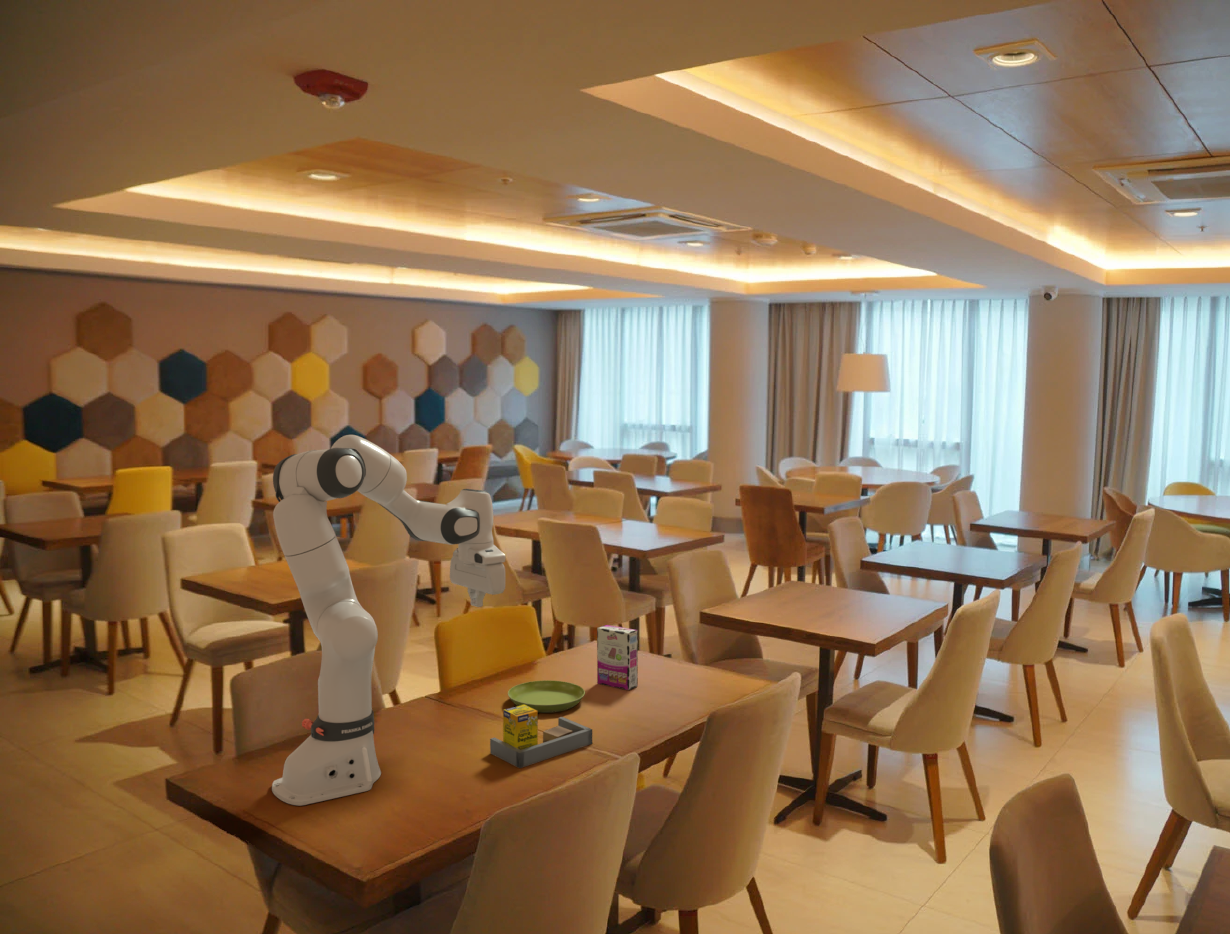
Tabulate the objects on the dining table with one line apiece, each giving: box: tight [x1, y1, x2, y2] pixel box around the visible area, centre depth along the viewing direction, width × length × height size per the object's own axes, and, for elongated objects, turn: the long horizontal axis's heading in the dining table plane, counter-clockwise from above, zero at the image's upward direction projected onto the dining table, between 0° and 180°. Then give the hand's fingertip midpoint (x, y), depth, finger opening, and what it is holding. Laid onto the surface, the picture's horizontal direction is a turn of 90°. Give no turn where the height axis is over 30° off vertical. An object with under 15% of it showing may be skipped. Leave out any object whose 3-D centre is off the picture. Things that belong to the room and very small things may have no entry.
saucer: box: [507, 679, 586, 714], centre depth 252 cm, size 21×21×3 cm
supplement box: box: [502, 705, 539, 750], centre depth 215 cm, size 6×6×11 cm
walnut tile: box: [542, 725, 573, 743], centre depth 224 cm, size 5×5×3 cm
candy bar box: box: [596, 624, 639, 691], centre depth 266 cm, size 11×5×16 cm, turn 55°
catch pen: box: [489, 716, 593, 769], centre depth 220 cm, size 21×11×4 cm, turn 132°
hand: (476, 605), depth 238 cm, fingers closed
